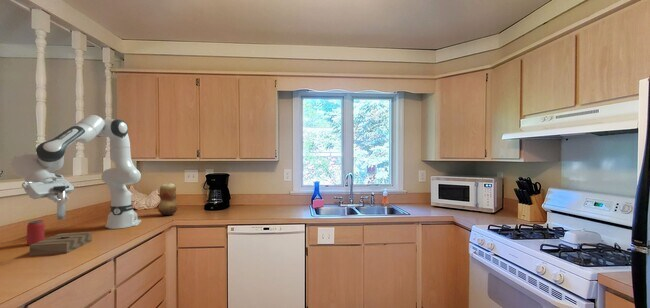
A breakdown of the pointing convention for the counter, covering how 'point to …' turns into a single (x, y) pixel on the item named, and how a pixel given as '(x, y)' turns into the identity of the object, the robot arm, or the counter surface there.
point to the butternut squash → (168, 199)
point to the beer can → (35, 232)
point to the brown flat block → (60, 243)
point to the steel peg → (62, 203)
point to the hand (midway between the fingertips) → (62, 200)
